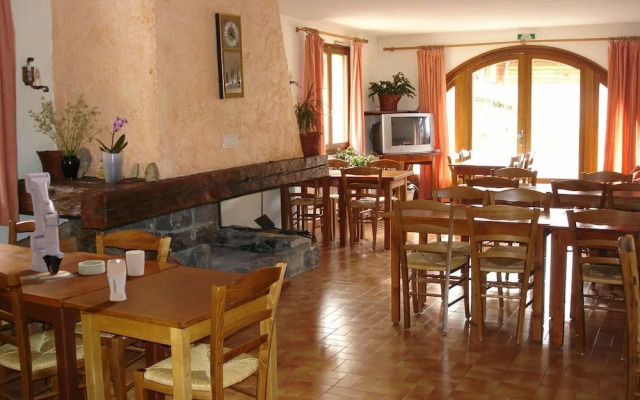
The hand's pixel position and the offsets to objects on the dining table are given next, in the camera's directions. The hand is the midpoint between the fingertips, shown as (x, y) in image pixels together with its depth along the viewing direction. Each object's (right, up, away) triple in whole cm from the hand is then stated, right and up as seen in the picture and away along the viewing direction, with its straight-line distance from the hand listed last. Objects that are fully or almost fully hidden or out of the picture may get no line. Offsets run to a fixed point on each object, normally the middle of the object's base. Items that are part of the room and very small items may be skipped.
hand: (53, 272), depth 308 cm
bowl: (+14, -1, +8) cm, 16 cm away
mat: (0, -2, 0) cm, 2 cm away
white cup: (+34, -2, +5) cm, 35 cm away
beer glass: (+38, -7, -37) cm, 53 cm away
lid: (0, -2, 0) cm, 2 cm away
